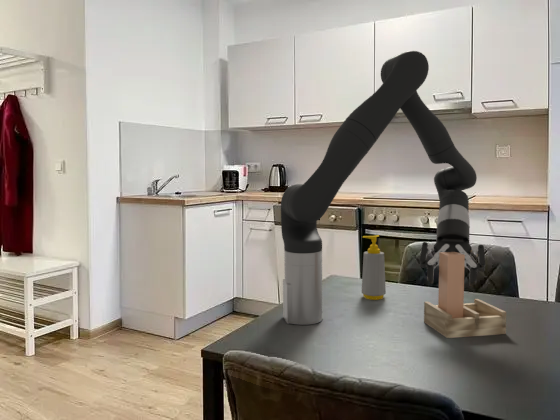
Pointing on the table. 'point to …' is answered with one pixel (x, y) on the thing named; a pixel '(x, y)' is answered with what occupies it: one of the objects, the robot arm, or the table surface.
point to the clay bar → (451, 283)
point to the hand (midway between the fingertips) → (451, 283)
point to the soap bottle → (373, 272)
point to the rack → (467, 320)
